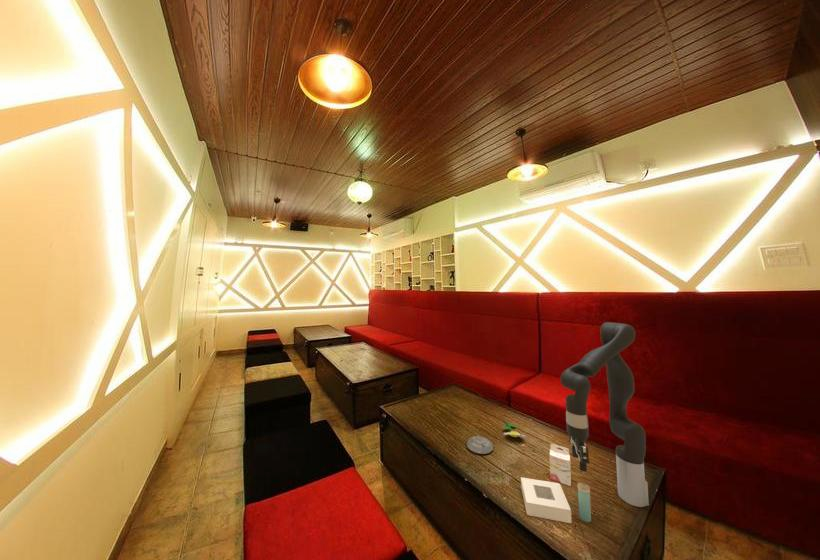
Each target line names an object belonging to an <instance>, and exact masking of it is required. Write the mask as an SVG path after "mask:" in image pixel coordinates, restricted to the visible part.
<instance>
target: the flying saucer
mask: <svg viewBox="0 0 820 560" xmlns="http://www.w3.org/2000/svg"><path fill="white" fill-rule="evenodd" d="M466 447H467V448H468V449H469V450H470V451H471V452H473V453H475V454H479V455H486V454H489V453H491V452H492V451H493V450H494V445H493V443H492V441H491V440H489V439H488V438H486V437H483V436H479V435H475V436H471V437H470V438H469V439H467V441H466Z"/></svg>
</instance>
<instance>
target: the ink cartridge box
mask: <svg viewBox="0 0 820 560" xmlns="http://www.w3.org/2000/svg"><path fill="white" fill-rule="evenodd" d="M549 448H550V449H549V477H550V478H549V479H550V480H551V481H553V482H556V483H561V484H564V485H566V486H569V487H572V479H571V478H572V476H571V474H572V472H571V471H572V470H571V455H570V449H569V448H567V447H565V446H561V445H557V444H554V443H550V444H549Z"/></svg>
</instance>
